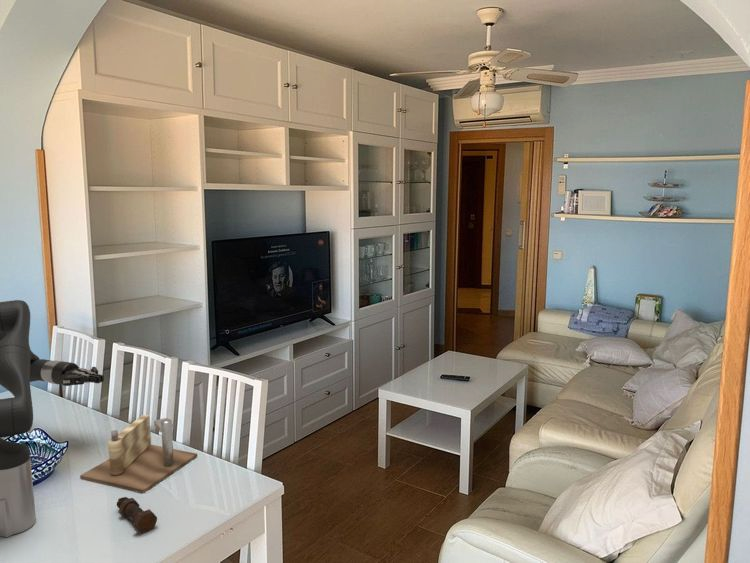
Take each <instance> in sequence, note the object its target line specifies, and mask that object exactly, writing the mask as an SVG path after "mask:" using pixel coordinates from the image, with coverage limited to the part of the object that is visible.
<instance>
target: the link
mask: <svg viewBox="0 0 750 563" xmlns="http://www.w3.org/2000/svg"><path fill="white" fill-rule="evenodd" d="M150 418H151V417H150V414H142V415H141V416H139V417H138V418H137V419H136V420H134V421H133V422H131V424H129V425H128V426H127V427H125V428H124V429H123V430H122V431H120V432H118V440H115V441H113V440H112V438H110V439H108V440H107V442H108V454H109V455H108V456H109V458H108V459H110V473H111V475H119V474H122V473H123V472H124V469H125V468H126V467H127V466H128V465H130V464H131V463H132V462H133V461H134V460H135V459H136V458H137V457H138V456H139V455H140V454H141V453H142V452H143V451H145V450H146V449H147V448H148V447H149V446H150V445H152V436H151V434H152V432H151V419H150Z"/></svg>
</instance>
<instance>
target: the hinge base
mask: <svg viewBox="0 0 750 563" xmlns="http://www.w3.org/2000/svg"><path fill="white" fill-rule="evenodd" d="M118 434H119V431H118V430H116V429H114V430H112V431H110V435H111V436H110V437H111V438H110V439H112V440H113V441H115V440H118ZM197 457H198V453H196V452H190V451H187V450H181V449H176V448H173V458H174V465H173V466H170V467H164V466H163V449H162V445H156V444H151V445H150V446H149V447H148V448H147V449H146V450H145V451H143V452H142V453H141V454H140V455H139V456H138V457H137V458H136V459H135V460H134V461H133V462H132V463H131V464H130V465H128V466H127V467H126V468H125V469H124V472H123V473H122V474H119V475H111V473H110V459H109V458H108V459H106V460H105V461H103V462H102V463H100V464H98V465H96V466H94V467H93V468H90V469H89V470H87V471H86V472H85V471H84V473H81V474H80V475H79V478H80V479H81V480H84V481H89V482H93V483H97V484H102V485H106V486H110V487H114V488H119V489H122V490H127V491H131V492H136V493H140V494H145V493H146V492H148V491H149V490H151V489H152V488H154V487H155V486H156V484H157V485H158V484H159V482H160V483H161V482H162V481H164V480H165V479H167V478H168V477H170V476H171V475H173V474H174V473H176V472H177V471H179V470H180V469H181V468H183V467H185V466H186V465H188V464H189V463H190V462H192V461H193V460H194V459H196V458H197ZM153 486H154V487H153Z"/></svg>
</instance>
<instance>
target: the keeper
mask: <svg viewBox="0 0 750 563" xmlns="http://www.w3.org/2000/svg"><path fill="white" fill-rule="evenodd" d="M153 422H154V427H155V428H156V429H157V430H158V432H159V433H161V447H162V449H163V466H164V467H170V466H173V465H174V458H173V449H174V441H173V431H174V428H175V427H174V423H173V422H172V419H170V418H168V417H165V418H159V419H154V420H153Z"/></svg>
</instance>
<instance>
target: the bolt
mask: <svg viewBox="0 0 750 563" xmlns="http://www.w3.org/2000/svg"><path fill="white" fill-rule="evenodd" d="M116 507H117V508H118V512H119V513H120V514H121V515H122V516H123V517H124V518H125V519H127V518H129V519H130V520H132V522H133V524H132V527H133V528H134V529H135V530H136V531H137V532H138V533H139V534H145V533H148V532H150V531H153V529H154V528H155V527H156V524H157V522H158V521H157V520H158V517H157V515H156V514H155V513H154V512H153V511H152V510H151V509H150V508H149V509H146V510H143V509H142V508H141V507H140V504H139V503H138V502H137V500H136V499H134V498H133V497H127V496H123V497H121V498H120V497H119V498H118V499H117V502H116Z"/></svg>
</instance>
